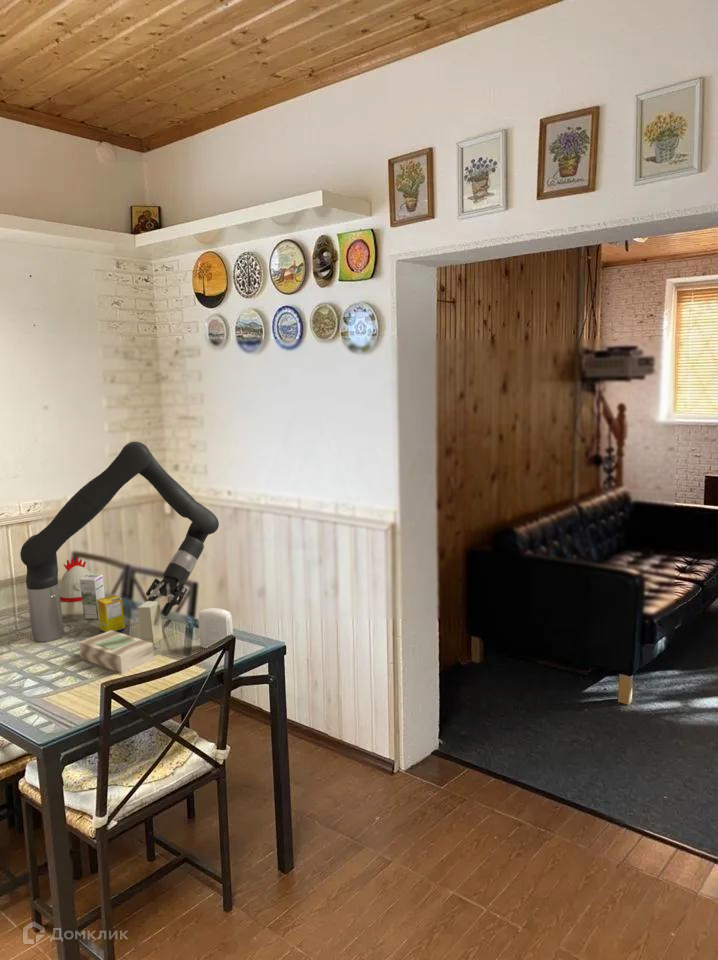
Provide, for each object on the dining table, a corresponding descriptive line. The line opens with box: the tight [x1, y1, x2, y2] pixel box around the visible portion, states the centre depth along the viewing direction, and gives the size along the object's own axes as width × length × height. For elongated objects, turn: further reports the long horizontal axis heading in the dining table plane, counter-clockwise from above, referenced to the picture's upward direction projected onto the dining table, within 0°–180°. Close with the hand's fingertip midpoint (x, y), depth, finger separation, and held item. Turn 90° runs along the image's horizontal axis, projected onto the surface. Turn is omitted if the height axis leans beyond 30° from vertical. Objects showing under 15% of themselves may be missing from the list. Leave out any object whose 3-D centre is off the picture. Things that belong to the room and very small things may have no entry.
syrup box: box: [80, 574, 106, 620], centre depth 248 cm, size 6×6×14 cm
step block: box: [78, 630, 155, 674], centre depth 212 cm, size 20×11×5 cm, turn 53°
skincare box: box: [137, 600, 164, 646], centre depth 223 cm, size 6×4×12 cm
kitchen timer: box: [59, 556, 92, 603], centre depth 271 cm, size 14×14×15 cm
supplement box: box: [97, 594, 126, 633], centre depth 234 cm, size 6×6×11 cm
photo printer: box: [198, 607, 234, 649], centre depth 216 cm, size 10×4×12 cm, turn 72°
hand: (154, 612), depth 224 cm, fingers open, 8 cm apart
